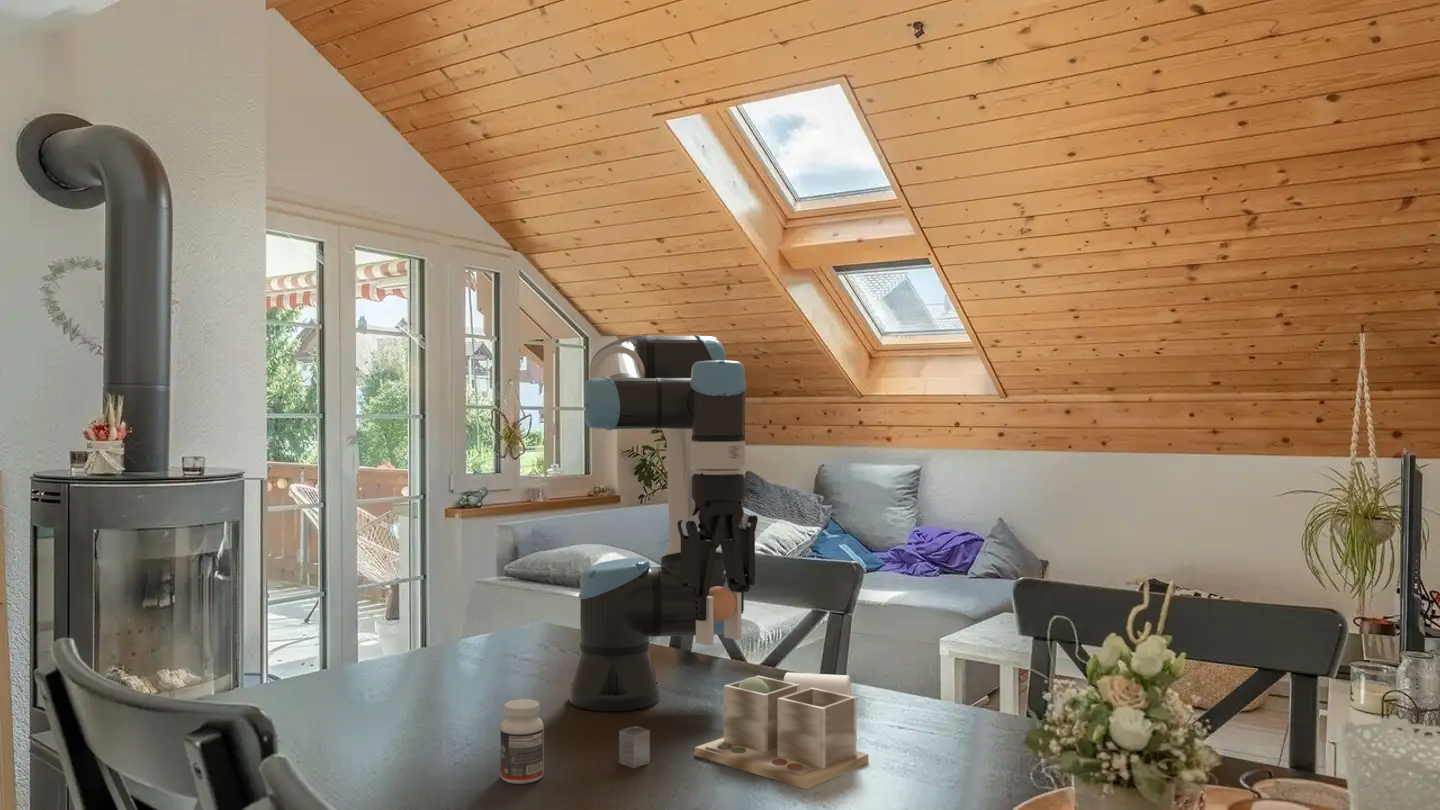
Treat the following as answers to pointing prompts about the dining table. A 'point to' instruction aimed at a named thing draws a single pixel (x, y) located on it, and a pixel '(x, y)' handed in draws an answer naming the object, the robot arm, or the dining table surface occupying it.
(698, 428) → the robot arm
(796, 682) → the mug
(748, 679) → the ball sage upper
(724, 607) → the ball terracotta
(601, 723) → the dining table surface
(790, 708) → the rack
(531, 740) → the pill bottle
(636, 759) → the post
